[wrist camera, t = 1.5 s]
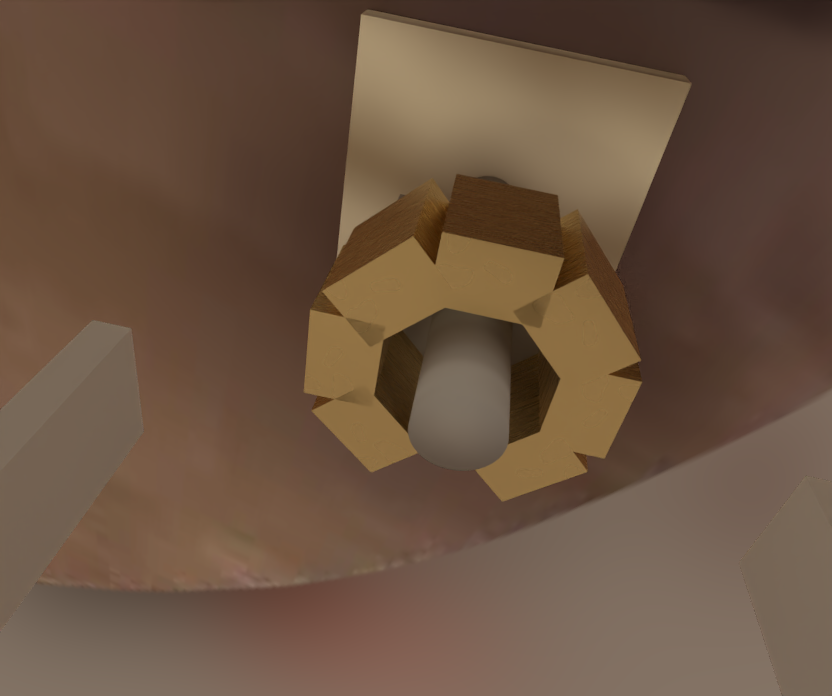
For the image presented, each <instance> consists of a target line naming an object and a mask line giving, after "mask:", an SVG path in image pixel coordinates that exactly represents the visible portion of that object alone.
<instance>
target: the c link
mask: <svg viewBox="0 0 832 696" xmlns="http://www.w3.org/2000/svg"><path fill="white" fill-rule="evenodd" d="M443 308H449V309H454V310H458V311H463V312H467V313H472V314H477V315H481V316H486V317H490V318H495V319H500V320H504V321H509V322H513V323H518V324H522V325H523V326H524V328H525V329H526V330H527V332H528V333H529V335H530V336H531V338H532V339H533V340H534V342H535V343H536V345H537V346H538V347H539V352H538V354H536V355H534V356H531V357H529V358H527V359H525V360H522V361H520V362H518V363H516V364H514V365H511V388H510V418H509V441H508V445H507V448H506V450H505V452H504V453H503V455H502V456H501V457H500V458H499V459H498V460H496V461H495V462H494V463H492V464H490V465H488V466H486V467H483V468H480V469H476V472H477V473H478V474H479V475H480V476H481V477H482V479H483V480H484V481H485V482H486V483H487V484H488V486H489V487H490V488H491V489H492V490H493V491H494V493H495V494H496V495H497V496H498V497H499V498H500V500H501V501H505V500H508V499H511V498H514V497H517V496H520V495H523V494H525V493H528V492H531V491H534V490H537V489H540V488H543V487H546V486H548V485H551V484H554V483H557V482H560V481H563V480H566V479H568V478H571V477H574V476H577V475H580V474H583V473H586V472H588V468H587V458H586V455H590V456H595V457H599V458H605V456H606V454H607V452H608V450H609V448H610V446H611V444H612V442H613V440H614V438H615V436H616V434H617V432H618V430H619V428H620V426H621V424H622V422H623V420H624V418H625V416H626V414H627V412H628V410H629V408H630V406H631V404H632V402H633V400H634V398H635V396H636V394H637V392H638V390H639V388H640V386H641V384H642V379H641V375H640V370H639V366H638V362H639V361H641V357H640V353H639V349H638V345H637V341H636V336H635V332H634V328H633V324H632V320H631V316H630V312H629V307H628V303H627V299H626V295H625V291H624V287H623V284H622V283H621V281H620V279H619V278H618V276H617V274H616V273H615V271H614V269H613V268H612V266H611V264H610V263H609V261H608V259H607V258H606V256H605V254H604V252H603V251H602V249H601V247H600V246H599V244H598V242H597V241H596V239H595V237H594V236H593V234H592V232H591V231H590V229H589V227H588V225H587V224H586V222H585V220H584V219H583V217H582V215H581V214H580V212H579V210H578V209H576V210H575V211H573V212H571V213H569V214H567V215H566V216H564V217H562V218H560V210H559V200H558V195H555V194H550V193H545V192H540V191H536V190H531V189H526V188H522V187H517V186H512V185H508V184H503V183H498V182H494V181H489V180H484V179H480V178H475V177H470V176H466V175H461V174H456V178H455V182H454V186H453V190H452V194H451V198H450V202H449V201H448V200H447V198H446V197H445V195H444V194H443V192H442V191H441V189H440V188H439V187H438V185H437V184H436V182H435V181H434V179H433V178H431V179H430V180H428V181H427V182H425V183H424V184H422V185H420V186H419V187H417V188H416V189H414V190H413V191H411V192H409V193H408V194H406V195H405V196H403V197H402V198H400V199H398V200H397V201H395V202H394V203H392V204H391V205H389V206H388V207H386V208H384V209H383V210H381V211H380V212H378V213H377V214H375V215H373V216H372V217H370V218H369V219H367V220H366V221H364V222H362V223H361V224H359V225H358V226H356V227H355V228H354V229H353V231H352V233H351V235H350V237H349V239H348V241H347V243H346V245H343V247H342V249H341V251H340V253H339V255H338V257H337V259H336V261H335V262H334V264H333V266H332V268H331V270H330V272H329V274H328V276H327V278H326V280H325V282H324V284H323V286H322V288H321V290H320V292H319V293H318V295H317V297H316V299H315V301H314V303H313V305H312V307H311V309H310V318H309V331H308V344H307V357H306V371H305V384H304V393H309V394H313V395H318V396H317V398H316V401H315V403H314V406H313V408H312V412H313V413H314V414H315V415H316V416H317V417H318V418H319V419H320V420H321V421H322V422H323V423H324V424H325V425H326V426H327V427H328V428H329V429H330V430H331V431H332V433H333V434H334V435H335V436H336V437H337V438H338V439H339V440H340V441H341V442H342V443H343V444H344V445H345V446H346V447H347V448H348V449H349V450H350V451H351V452H352V453H353V454H354V455H355V456H356V457H357V458H358V459H359V460H360V462H361V463H362V464H363V465H364V466H365V467H366V468H367V469H368V470H369V471H370V472H373V471H376V470H378V469H381V468H383V467H386V466H388V465H390V464H393V463H395V462H398V461H400V460H402V459H405V458H407V457H410V456H412V455H415V454H417V453H418V452H417V451H416V450H415V449H414V447H413V446H412V444H411V442H410V439H409V435H408V425H409V420H410V416H411V411H412V407H413V402H414V398H415V393H416V388H417V384H418V379H419V375H420V370H421V366H422V361H423V357H424V356H423V355H422V354H421V353H420V351H419V350H418V349H417V348H416V346H415V345H414V344H413V343H412V342H411V340H410V339H409V338H408V337H407V335H406V334H405V333H404V332H403V329H405V328H407V327H409V326H411V325H413V324H415V323H417V322H419V321H421V320H422V319H424V318H426V317H428V316H430V315H432V314H434V313H436V312H438V311H440V310H441V309H443Z"/></svg>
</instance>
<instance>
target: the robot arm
mask: <svg viewBox="0 0 832 696" xmlns="http://www.w3.org/2000/svg"><path fill="white" fill-rule="evenodd" d="M143 432H144V429H143V421H142V413H141V405H140V396H139V388H138V380H137V371H136V363H135V355H134V346H133V338H132V330H131V328H127V327H122V326H118V325H113V324H109V323H104V322H100V321H95V320H92V321H91V322H90V323H89V324H88V325H87V326H86V327H85V328H84V329H83V330H82V331H81V332H80V333H79V334H78V335H77V336H76V337H75V338H74V339H73V340H72V341H71V342H70V343H68V344H67V345H66V346H65V347H64V348H63V349H62V350H61V351H60V352H59V353H58V354H57V355H56V356H55V357H54V358H53V359H52V360H51V361H50V362H49V363H48V364H47V365H46V366H45V367H44V368H43V369H42V370H41V371H40V372H39V373H38V374H37V375H36V376H35V377H33V378H32V379H31V380H30V381H29V382H28V383H27V384H26V385H25V386H24V387H23V388H22V389H21V390H20V391H19V392H18V393H17V394H16V395H15V396H14V397H13V398H12V399H11V400H10V401H9V402H8V403H7V404H6V405H5V406H4V407H3V408H2V409H1V410H0V632H1V630H2V629H3V627H4V626H5V625H6V623H7V622H8V621H9V619H10V618H11V616H12V615H13V613H14V612H15V611H16V609H17V608H18V607H19V605H20V604H21V602H22V601H23V599H24V598H25V597H26V595H27V594H28V592H29V591H30V590H31V588H32V587H33V586H34V584H35V583H36V581H37V580H38V579H39V577H40V576H41V574H42V573H43V572H44V570H45V569H46V567H47V566H48V565H49V563H50V562H51V560H52V559H53V558H54V556H55V555H56V553H57V552H58V551H59V549H60V548H61V547H62V545H63V544H64V542H65V541H66V540H67V538H68V537H69V535H70V534H71V533H72V531H73V530H74V528H75V527H76V526H77V524H78V523H79V521H80V520H81V519H82V517H83V516H84V514H85V513H86V512H87V510H88V509H89V507H90V506H91V505H92V503H93V502H94V500H95V499H96V498H97V496H98V495H99V493H100V492H101V491H102V489H103V488H104V486H105V485H106V484H107V482H108V481H109V479H110V478H111V477H112V475H113V474H114V472H115V471H116V470H117V468H118V467H119V465H120V464H121V463H122V461H123V460H124V458H125V457H126V456H127V454H128V453H129V452H130V450H131V449H132V447H133V446H134V445H135V443H136V442H137V440H138V439H139V438H140V436H141V435H142V433H143ZM739 565H740V569H741V571H742V575H743V578H744V581H745V584H746V587H747V590H748V593H749V596H750V599H751V602H752V605H753V608H754V611H755V614H756V617H757V620H758V623H759V626H760V629H761V633H762V636H763V639H764V642H765V645H766V648H767V651H768V654H769V657H770V660H771V663H772V666H773V669H774V672H775V675H776V678H777V682H778V685H779V688H780V691H781V694H782V696H832V481H828V480H824V479H819V478H815V477H810V476H805V477H804V479H803V480H802V481H801V483H800V484H799V485H798V486H797V488H796V489H795V490H794V492H793V493H792V494H791V496H790V497H789V498H788V499H787V501H786V502H785V503H784V505H783V506H782V507H781V508H780V510H779V511H778V512H777V514H776V515H775V516H774V518H773V519H772V520H771V521H770V523H769V524H768V525H767V527H766V528H765V529H764V531H763V532H762V533H761V534H760V536H759V537H758V538H757V540H756V541H755V542H754V544H753V545H752V546H751V547H750V549H749V550H748V551H747V553H746V554H745V555H744V557H743V558H742V559H741V560H740V562H739Z"/></svg>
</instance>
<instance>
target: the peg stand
mask: <svg viewBox="0 0 832 696" xmlns="http://www.w3.org/2000/svg"><path fill="white" fill-rule="evenodd" d="M691 84H692V83H691V82H690V81H689V80H688V79H687V77H686V76H684V75H679V74H675V73H670V72H665V71H660V70H656V69H651V68H646V67H641V66H636V65H632V64H627V63H622V62H617V61H613V60H608V59H603V58H598V57H594V56H589V55H584V54H579V53H574V52H570V51H565V50H560V49H555V48H551V47H546V46H541V45H536V44H532V43H527V42H522V41H517V40H512V39H508V38H503V37H498V36H493V35H489V34H484V33H479V32H474V31H469V30H465V29H460V28H455V27H450V26H446V25H441V24H436V23H431V22H427V21H422V20H417V19H412V18H407V17H403V16H398V15H393V14H388V13H384V12H379V11H374V10H369V9H368V10H366V11H365V12H364V13H362V14H361V21H360V31H359V41H358V51H357V61H356V71H355V81H354V91H353V101H352V111H351V121H350V130H349V140H348V150H347V160H346V170H345V180H344V190H343V200H342V210H341V220H340V230H339V240H338V250H337V257H338V255H339V253H340V251H341V249H342V247H343V245H346V243H347V241H348V239H349V237H350V235H351V233H352V231H353V229H354V228H355V227H356V226H358V225H359V224H361V223H362V222H364V221H366V220H367V219H369V218H370V217H372V216H373V215H375V214H377V213H378V212H380V211H381V210H383V209H384V208H386V207H388V206H389V205H391V204H392V203H394V202H395V201H397V200H398V199H400V198H402V197H403V196H405V195H406V194H408V193H409V192H411V191H413V190H414V189H416V188H417V187H419V186H420V185H422V184H424V183H425V182H427V181H428V180H430V179H431V178H433V179H434V181H435V182H436V184H437V185H438V187H439V188H440V189H441V191H442V192H443V194H444V195H445V197H446V198H447V200H448V201H449V202H450V198H451V194H452V190H453V186H454V182H455V178H456V174H461V175H466V176H470V177H475V178H480V179H484V180H489V181H494V182H498V183H503V184H508V185H512V186H517V187H522V188H526V189H531V190H536V191H540V192H545V193H550V194H555V195H558V200H559V210H560V218H562V217H564V216H566V215H567V214H569V213H571V212H573V211H575V210H576V209H578V210H579V212H580V214H581V215H582V217H583V219H584V220H585V222H586V224H587V225H588V227H589V229H590V231H591V232H592V234H593V236H594V237H595V239H596V241H597V242H598V244H599V246H600V247H601V249H602V251H603V252H604V254H605V256H606V258H607V259H608V261H609V263H610V264H611V266H612V268H613V269H614V271H616V269H617V266H618V264H619V262H620V259H621V257H622V254H623V252H624V249H625V247H626V244H627V242H628V239H629V237H630V234H631V232H632V229H633V227H634V225H635V222H636V220H637V217H638V215H639V212H640V210H641V207H642V205H643V202H644V200H645V197H646V195H647V193H648V190H649V188H650V185H651V183H652V180H653V178H654V175H655V173H656V170H657V168H658V165H659V163H660V161H661V158H662V156H663V153H664V151H665V148H666V146H667V143H668V141H669V138H670V136H671V133H672V131H673V128H674V126H675V124H676V121H677V119H678V116H679V114H680V111H681V109H682V106H683V104H684V101H685V99H686V96H687V94H688V92H689V89H690V87H691ZM403 332H404V333H405V334H406V335H407V337H408V338H409V339H410V340H411V342H412V343H413V344H414V345H415V346H416V348H417V349H418V350H419V351H420V353H421V354H422V355H423V356H424V357H423V361H422V366H421V370H420V375H419V379H418V384H417V388H416V393H415V398H414V402H413V407H412V411H411V416H410V420H409V425H408V435H409V439H410V442H411V444H412V446H413V447H414V449H415V450H416V451H417V452H418V453H419V454H420V455H421V456H422V457H423V458H424V459H426V460H427V461H429V462H430V463H432V464H435V465H437V466H439V467H442V468H446V469H450V470H457V471H469V470H476V469H480V468H483V467H486V466H488V465H490V464H492V463H494V462H495V461H496V460H498V459H499V458H500V457H501V456H502V455H503V453H504V452H505V450H506V448H507V445H508V441H509V418H510V388H511V365H514V364H516V363H518V362H520V361H522V360H525V359H527V358H529V357H531V356H534V355H536V354H538V352H539V347H538V346H537V345H536V343H535V342H534V340H533V339H532V338H531V336H530V335H529V333H528V332H527V330H526V329H525V328H524V326H523V325H522V324H518V323H513V322H509V321H504V320H500V319H495V318H490V317H486V316H481V315H477V314H472V313H467V312H463V311H458V310H454V309H449V308H443V309H441V310H440V311H438V312H436V313H434V314H432V315H430V316H428V317H426V318H424V319H422V320H421V321H419V322H417V323H415V324H413V325H411V326H409V327H407V328H405V329H403Z"/></svg>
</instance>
